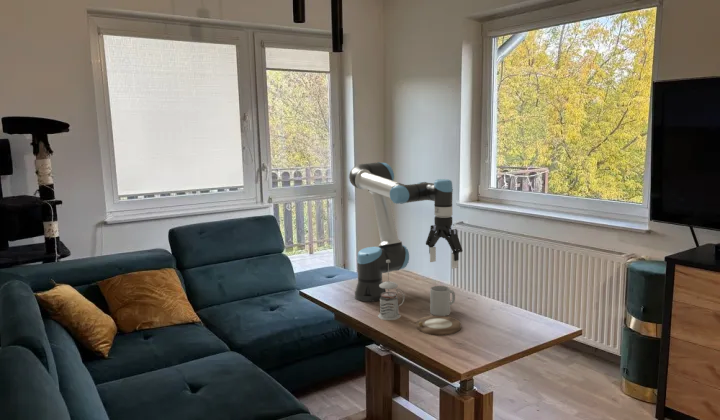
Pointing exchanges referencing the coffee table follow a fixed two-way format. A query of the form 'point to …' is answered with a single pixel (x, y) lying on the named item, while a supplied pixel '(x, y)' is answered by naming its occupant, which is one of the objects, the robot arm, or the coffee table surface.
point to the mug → (441, 300)
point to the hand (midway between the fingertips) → (443, 264)
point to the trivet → (438, 325)
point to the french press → (390, 312)
